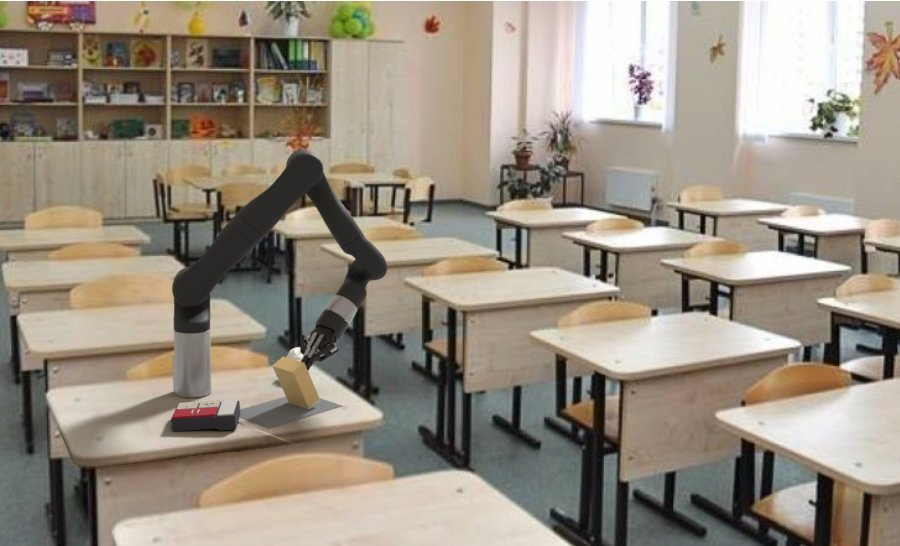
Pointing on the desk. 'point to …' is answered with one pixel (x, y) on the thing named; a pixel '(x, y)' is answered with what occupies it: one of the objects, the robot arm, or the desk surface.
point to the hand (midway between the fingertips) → (300, 371)
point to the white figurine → (295, 354)
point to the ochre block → (296, 382)
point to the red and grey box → (206, 415)
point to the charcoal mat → (283, 412)
